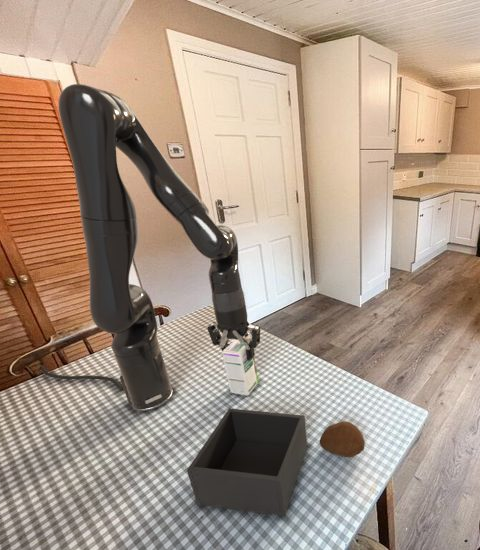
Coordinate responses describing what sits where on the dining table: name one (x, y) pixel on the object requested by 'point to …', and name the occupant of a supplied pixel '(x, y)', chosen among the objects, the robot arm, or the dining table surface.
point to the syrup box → (239, 369)
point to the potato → (342, 439)
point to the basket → (250, 462)
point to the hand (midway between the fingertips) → (239, 357)
